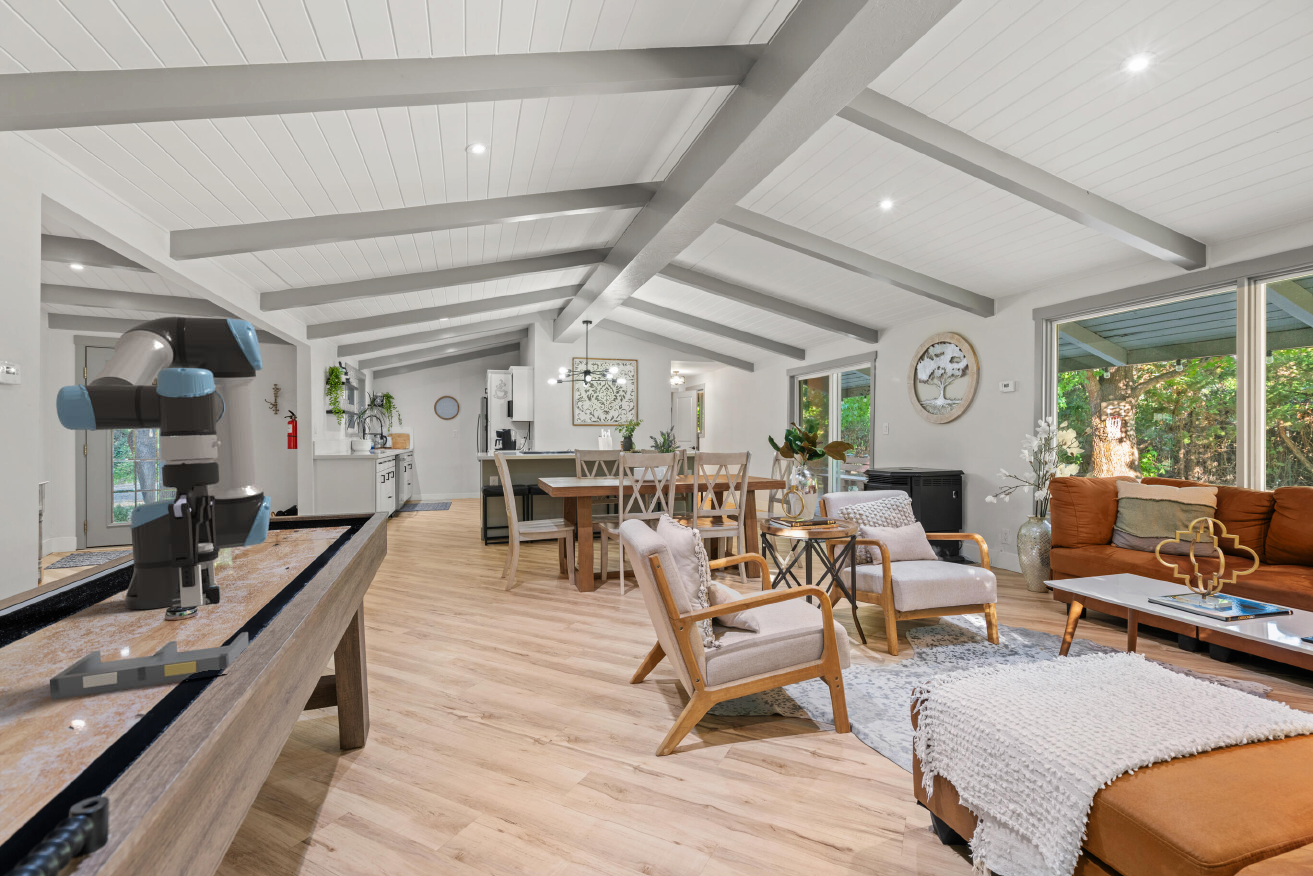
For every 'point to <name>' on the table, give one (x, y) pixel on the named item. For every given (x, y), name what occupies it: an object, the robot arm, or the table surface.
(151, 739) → the table surface
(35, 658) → the table surface
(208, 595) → the push button
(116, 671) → the gray divided compartment tray
